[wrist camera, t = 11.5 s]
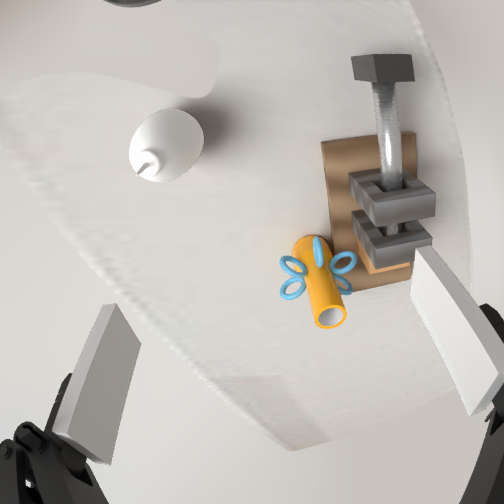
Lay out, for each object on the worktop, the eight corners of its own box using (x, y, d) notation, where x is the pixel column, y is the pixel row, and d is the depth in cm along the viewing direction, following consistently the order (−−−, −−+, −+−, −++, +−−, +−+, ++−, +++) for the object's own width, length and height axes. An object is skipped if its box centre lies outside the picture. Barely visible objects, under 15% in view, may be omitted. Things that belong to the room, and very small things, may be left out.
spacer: (357, 230, 45) (369, 251, 40) (395, 223, 45) (411, 242, 40) (357, 252, 48) (369, 274, 42) (394, 244, 47) (409, 265, 42)
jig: (320, 142, 40) (346, 168, 30) (410, 131, 38) (456, 154, 28) (335, 289, 53) (352, 340, 43) (407, 274, 52) (434, 318, 42)
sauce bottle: (220, 129, 39) (203, 168, 24) (184, 171, 42) (148, 234, 26) (175, 93, 36) (126, 108, 21) (140, 137, 39) (80, 182, 24)
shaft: (350, 56, 30) (372, 54, 24) (384, 55, 30) (411, 54, 24) (368, 220, 42) (386, 246, 36) (396, 215, 41) (417, 240, 35)
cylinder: (358, 238, 48) (392, 299, 35) (325, 286, 53) (345, 352, 40) (291, 208, 45) (310, 268, 32) (261, 263, 50) (266, 332, 37)
